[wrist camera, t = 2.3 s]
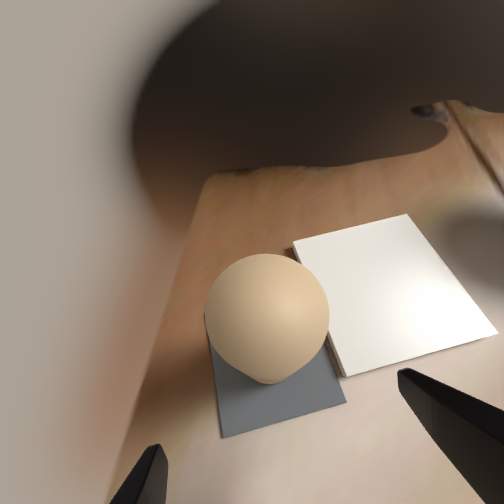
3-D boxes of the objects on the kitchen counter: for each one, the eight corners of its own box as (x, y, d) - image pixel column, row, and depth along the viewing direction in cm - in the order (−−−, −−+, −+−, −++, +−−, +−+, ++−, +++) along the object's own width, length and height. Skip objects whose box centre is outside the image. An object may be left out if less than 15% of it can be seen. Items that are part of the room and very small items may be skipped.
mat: (345, 402, 17) (346, 402, 17) (223, 437, 16) (223, 438, 16) (302, 288, 21) (302, 287, 21) (206, 313, 21) (205, 312, 21)
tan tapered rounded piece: (304, 375, 18) (351, 356, 7) (247, 391, 17) (214, 394, 7) (286, 318, 20) (303, 242, 10) (236, 332, 20) (197, 268, 9)
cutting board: (487, 336, 18) (498, 333, 17) (343, 377, 18) (347, 376, 17) (402, 220, 24) (406, 213, 24) (292, 247, 24) (292, 241, 23)
